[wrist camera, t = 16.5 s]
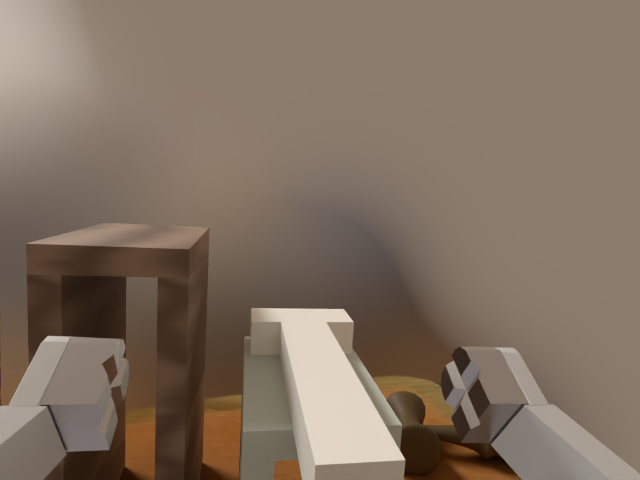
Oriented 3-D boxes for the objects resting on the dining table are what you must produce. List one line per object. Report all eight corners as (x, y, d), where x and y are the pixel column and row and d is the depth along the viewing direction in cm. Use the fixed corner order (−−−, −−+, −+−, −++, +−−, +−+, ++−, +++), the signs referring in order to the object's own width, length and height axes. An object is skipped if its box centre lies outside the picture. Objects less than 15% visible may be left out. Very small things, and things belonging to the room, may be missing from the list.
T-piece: (252, 534, 18) (255, 468, 17) (250, 338, 40) (251, 308, 40) (451, 518, 19) (458, 457, 19) (341, 338, 42) (343, 309, 41)
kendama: (538, 494, 45) (354, 470, 46) (505, 443, 55) (353, 424, 56) (546, 442, 45) (359, 419, 46) (511, 399, 54) (357, 382, 55)
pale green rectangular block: (232, 665, 27) (242, 431, 25) (238, 488, 42) (244, 336, 40) (382, 645, 28) (402, 425, 27) (334, 482, 44) (345, 336, 42)
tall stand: (34, 606, 30) (26, 243, 27) (105, 467, 44) (104, 223, 41) (181, 591, 31) (189, 249, 28) (202, 462, 46) (209, 227, 43)
